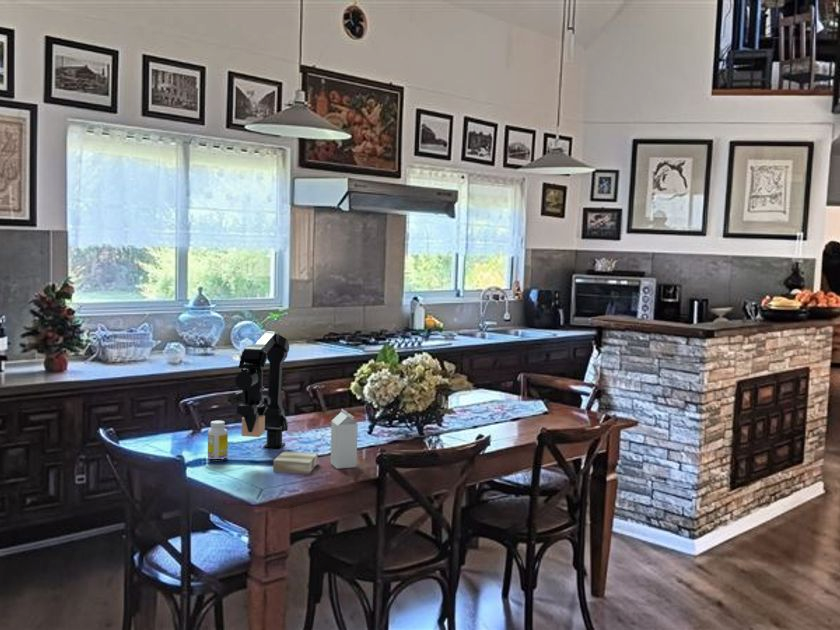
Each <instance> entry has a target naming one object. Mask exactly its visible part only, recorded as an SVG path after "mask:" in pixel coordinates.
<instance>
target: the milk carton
mask: <svg viewBox="0 0 840 630" xmlns="http://www.w3.org/2000/svg"><path fill="white" fill-rule="evenodd" d="M354 418H355V416H354V415H352V414H351V413H348V412H347V411H346V410H344V409H343V408H341V410H340V412H339V414H337V415H336V416H335V417H334V418H333V419H332V420H331V431H330V464H331V465H332V466H333V467H334V468H335V469H351V468H357V467H358V466H357V465H358V462H357V461H358V458H357V457H358V428H359V427H358V426H359V425H358V423H357V422H356V421H355V420H354Z"/></svg>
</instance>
